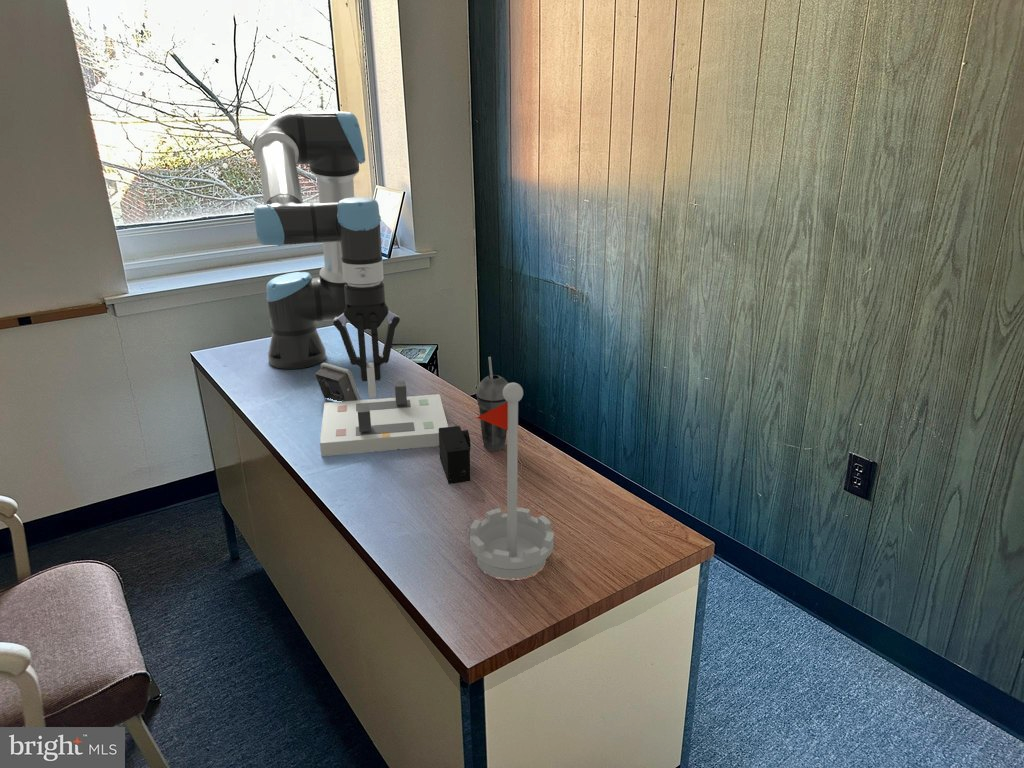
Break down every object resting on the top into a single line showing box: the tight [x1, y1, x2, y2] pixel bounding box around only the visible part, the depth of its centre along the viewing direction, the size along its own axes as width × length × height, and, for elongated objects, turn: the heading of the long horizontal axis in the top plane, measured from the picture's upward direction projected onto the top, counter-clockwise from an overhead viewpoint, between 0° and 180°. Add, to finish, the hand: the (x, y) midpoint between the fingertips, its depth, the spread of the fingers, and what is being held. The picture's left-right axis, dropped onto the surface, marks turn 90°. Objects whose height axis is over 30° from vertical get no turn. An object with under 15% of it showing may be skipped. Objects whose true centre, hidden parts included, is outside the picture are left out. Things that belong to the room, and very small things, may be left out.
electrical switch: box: [314, 362, 362, 402], centre depth 163 cm, size 9×5×9 cm, turn 57°
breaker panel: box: [319, 393, 449, 457], centre depth 151 cm, size 20×26×3 cm
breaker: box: [393, 380, 408, 405], centre depth 155 cm, size 3×2×4 cm
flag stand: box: [469, 381, 555, 579], centre depth 104 cm, size 13×13×30 cm
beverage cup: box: [475, 356, 509, 452], centre depth 141 cm, size 7×7×20 cm
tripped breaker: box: [358, 405, 371, 432], centre depth 143 cm, size 3×2×4 cm
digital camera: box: [438, 425, 472, 485], centre depth 134 cm, size 10×5×7 cm, turn 15°
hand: (372, 394), depth 142 cm, fingers closed
